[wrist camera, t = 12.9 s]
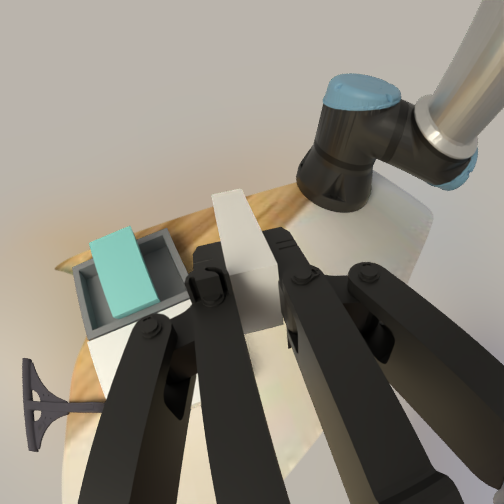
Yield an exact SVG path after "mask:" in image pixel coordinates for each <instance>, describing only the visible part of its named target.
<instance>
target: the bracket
mask: <svg viewBox="0 0 504 504" xmlns="http://www.w3.org/2000/svg"><path fill="white" fill-rule="evenodd" d="M22 365H23V366H22V370H23V371H22V372H23V373H22V376H23V377H22V378H23V403H24V416H25V426H26V434H27V441H28V448H29V451H34V452H39V450H38V449H40V447H41V442H42V438H43V436H44V433H45V431H46V430H47V428H48V427H49V426H50V424H51V423H52V422H53V421H55V420H56V419H58V418H60V417H62V416H65V415H68V414H69V412H77V413H102V411H103V408H104V405H105V403H101V402H86V403H68V402H67V401H65V400H63V399H60V398H58V397H56V396H55V395H53V394H52V393H51V392H49V391H48V390H47V388H46V387H45V386H44V385H43V383H42V382H41V380H40V378H39V376H38V374H37V372H36V370H35V367H34V364H33V363H32V360H31V359H28V358H23V363H22ZM32 390H34V391H36V392H37V393H38V395H39V397H40V400H41V401H40V402H38V401H33V394H32ZM35 410H38V411H41V417H40V418H39V420H38V421H35V420H34V411H35Z"/></svg>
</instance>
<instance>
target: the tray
mask: <svg viewBox="0 0 504 504" xmlns="http://www.w3.org/2000/svg"><path fill="white" fill-rule="evenodd" d="M137 242H138V245H139V248H140V251H141V253H142V256H143V259H144V261H145V264H146V267H147V269H148V272H149V274H150V277H151V279H152V282H153V284H154V287H155V289H156V292H157V294H158V297H159V299H160V301H161V302H159V303H157V304H155V305H152V306H150V307H147V308H145V309H143V310H140V311H138V312H136V313H133V314H131V315H128V316H126V317H124V318H121V319H116V318H114V317H113V316H112V313H111V310H110V308H109V305H108V302H107V299H106V297H105V294H104V291H103V288H102V285H101V282H100V279H99V276H98V273H97V269H96V266H95V263H94V259H93V258H92V259H90V260H88V261H85V262H83V263H81V264H79V265H76V266H74V267H72V269H73V275H74V281H75V286H76V291H77V296H78V301H79V305H80V310H81V314H82V319H83V323H84V327H85V330H86V334H87V338H88V340H89V341H91V340H94V339H96V338H99V337H101V336H104V335H106V334H108V333H111V332H113V331H116V330H118V329H121V328H123V327H125V326H128V325H130V324H133V323H135V322H137V321H139V320H140V319H141V318H143V317H145V316H147V315H149V314H155V313H159V312H161V311H163V310H166V309H168V308H170V307H173V306H175V305H177V304H180V303H182V302H184V301H187V300H189V299H190V297H189V295H188V292H187V289H186V287H185V284H184V283H185V279H186V277H187V276H188V273H187V270H186V268H185V266H184V264H183V262H182V260H181V258H180V256H179V254H178V251H177V249H176V247H175V245H174V243H173V240H172V238H171V236H170V234H169V232H168V229H167V228H165V229H163V230H160V231H158V232H155V233H152V234H150V235H147V236H145V237H142V238H140V239H137Z"/></svg>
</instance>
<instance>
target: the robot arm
mask: <svg viewBox="0 0 504 504" xmlns="http://www.w3.org/2000/svg"><path fill="white" fill-rule="evenodd" d="M503 108H504V0H482V2H481V4H480V7H479V8H478V11H477V13H476V15H475V17H474V19H473V21H472V23H471V25H470V27H469V29H468V31H467V33H466V35H465V37H464V39H463V41H462V43H461V45H460V47H459V49H458V51H457V53H456V54H455V57H454V58H453V60H452V62H451V64H450V65H449V67H448V69H447V71H446V73H445V75H444V76H443V78H442V80H441V82H440V83H439V85H438V87H437V88H436V90H435V92H434V94H433V95H425V96H423V97H421V98H420V99H419V100H418V101H417V103H416V104H415V105H413V104H411V103H409V102H406V101H404V100H402V99H401V93H400V90H399V89H398V88H397V87H395V86H394V85H392V84H389V83H388V82H386V81H384V80H382V79H379V78H375V77H372V76H368V75H362V74H341V75H337V76H335V77H334V78H332V79H331V81H330V82H329V85H328V88H327V92H326V95H325V96H324V98H323V107H322V112H321V117H320V120H319V124H318V129H317V132H316V137H315V141H314V145H313V146H312V147H311V149H310V150H309V151H308V153H307V154H306V156H305V157H304V159H303V160H302V161H301V163H300V165H299V167H298V171H297V176H296V180H297V185H298V187H299V189H300V190H301V192H302V193H303V194H304V195H305V196H306V197H307V198H308V199H309V200H310V201H312V202H313V203H315V204H317V205H318V206H320V207H323V208H325V209H328V210H331V211H336V212H353V211H356V210H359V209H360V208H362V207H363V206H364V205H365V204H366V202H367V200H368V198H369V196H370V193H371V183H372V169H373V165H374V162H375V160H376V159H378V160H381V161H383V162H386V163H388V164H390V165H392V166H395V167H397V168H399V169H401V170H403V171H405V172H407V173H409V174H411V175H413V176H415V177H417V178H419V179H421V180H423V181H425V182H427V183H428V184H429V185H431V186H434V187H438V188H440V189H442V190H447V191H450V190H454V189H456V188H458V187H460V186H461V185H462V184H463V183H465V181H466V180H467V179H468V178H469V173H470V172H472V171H473V169H474V167H475V164H476V161H477V155H478V148H477V145H478V138H477V136H478V135H479V134H480V132H481V131H482V130H483V129H484V128H485V127H486V126H487V125H488V124H489V123H490V122H491V121H492V120H493V119H494V118H495V116H496V115H497V114H498V113H499V112H500V111H501V110H502V109H503ZM211 196H212V201H213V206H214V211H215V216H216V221H217V226H218V231H219V235H220V240H221V241H220V242H216V243H211V244H207V245H203V246H198V247H197V248H196V250H195V252H194V253H193V269H194V270H193V271H192V272H190V273H189V275H188V276H187V277H186V279H185V283H184V284H185V287H186V289H187V292H188V295H189V297H190V300H191V303H192V305H191V306H190V307H189V308H188V309H187V310H186V311H184V312H183V313H181V314H179V315H177V316H175V317H173V318H171V319H169V317H167V316H166V315H164V314H159V313H155V314H149V315H147V316H145V317H143V318H141V319H140V320H139V321H138V322H137V323H136V324H135V326H134V327H133V329H132V331H131V334H130V336H129V339H128V341H127V344H126V346H125V349H124V352H123V354H122V357H121V359H120V362H119V365H118V368H117V370H116V373H115V376H114V379H113V381H112V384H111V387H110V390H109V393H108V396H107V399H106V402H105V405H104V408H103V411H102V414H101V417H100V420H99V424H98V427H97V430H96V434H95V437H94V440H93V444H92V447H91V451H90V455H89V458H88V462H87V466H86V470H85V474H84V478H83V482H82V486H81V491H80V495H79V500H78V504H176V503H177V495H178V488H179V481H180V474H181V467H182V460H183V454H184V447H185V441H186V435H187V429H188V423H189V417H190V411H191V405H192V399H193V393H194V388H195V382H196V374H197V373H198V382H199V391H200V399H201V408H202V415H203V423H204V430H205V437H206V444H207V450H208V457H209V463H210V469H211V475H212V480H213V486H214V491H215V497H216V502H217V504H290V501H289V498H288V494H287V491H286V488H285V484H284V481H283V478H282V474H281V471H280V467H279V464H278V460H277V457H276V453H275V450H274V446H273V443H272V439H271V436H270V432H269V428H268V425H267V421H266V417H265V414H264V410H263V406H262V403H261V399H260V395H259V391H258V387H257V384H256V380H255V376H254V372H253V368H252V364H251V360H250V356H249V352H248V349H247V345H246V341H245V337H244V334H247V333H251V332H256V331H260V330H264V329H268V328H272V327H276V326H279V325H283V318H284V321H285V323H286V327H287V339H288V349H289V348H291V347H292V349H293V352H294V355H295V357H296V360H297V362H298V365H299V368H300V370H301V373H302V376H303V378H304V381H305V384H306V386H307V389H308V392H309V394H310V397H311V399H312V402H313V405H314V407H315V410H316V413H317V415H318V418H319V421H320V423H321V426H322V429H323V431H324V434H325V436H326V439H327V442H328V445H329V447H330V450H331V452H332V455H333V458H334V461H335V463H336V466H337V469H338V471H339V474H340V477H341V479H342V482H343V485H344V487H345V490H346V493H347V495H348V498H349V501H350V504H464V502H463V500H462V498H461V495H460V493H459V491H458V489H457V487H456V486H455V484H454V482H453V481H452V480H451V479H450V478H449V477H448V476H447V475H445V474H443V473H440V472H438V471H436V470H435V469H434V467H433V466H432V465H431V463H430V460H429V458H428V456H427V454H426V452H425V450H424V448H423V446H422V445H421V442H420V440H419V438H418V436H417V434H416V432H415V430H414V429H413V427H412V425H411V423H410V421H409V419H408V417H407V415H406V413H405V411H404V410H403V408H402V406H401V404H400V403H399V400H398V399H397V397H396V395H395V393H394V391H393V389H392V387H391V386H390V384H391V385H392V386H393V388H394V389H395V390H396V391H397V392H398V393H399V394H400V395H401V396H402V397H403V398H404V399H405V400H406V401H407V403H409V405H410V406H411V407H412V408H413V409H414V410H415V411H416V412H417V413H418V414H419V415H420V416H421V418H423V420H424V421H425V422H426V423H427V424H428V425H429V426H430V427H431V428H432V429H433V430H434V431H435V433H437V434H438V436H439V437H440V438H441V439H442V440H443V441H444V442H445V443H446V444H447V445H448V447H449V448H450V449H451V450H452V451H453V452H454V453H455V454H456V455H457V456H458V457H459V459H461V460H462V462H463V463H464V464H465V465H466V466H467V467H468V468H469V469H470V471H471V472H472V473H474V474H475V475H476V476H477V477H478V478H479V479H480V480H481V481H483V482H484V483H486V484H488V485H489V486H491V487H493V488H495V489H497V490H498V491H497V492H496V493H495V495H494V498H493V503H494V504H504V365H503V364H502V363H500V362H499V361H498V360H497V359H496V358H495V357H494V356H493V355H491V354H490V353H489V352H488V351H487V350H486V349H485V348H484V347H483V346H481V345H480V344H479V343H478V342H477V341H476V340H474V339H473V338H472V337H471V336H470V335H469V334H467V333H466V332H465V331H464V330H463V329H462V328H460V327H459V326H458V325H457V324H455V323H454V322H453V321H452V320H451V319H449V318H448V317H447V316H446V315H445V314H443V313H442V312H441V311H440V310H438V309H437V308H436V307H434V306H433V305H432V304H431V303H430V302H428V301H427V300H426V299H424V298H423V297H422V296H421V295H419V294H418V293H417V292H415V291H414V290H413V289H412V288H410V287H409V286H408V285H406V284H405V283H404V282H402V281H401V280H400V279H398V278H397V277H396V276H394V275H393V274H392V273H390V272H389V271H388V270H386V269H385V268H384V267H382V266H380V265H378V264H375V263H371V262H362V263H358V264H355V265H354V266H353V267H351V268H350V271H349V273H348V276H328V275H324V274H323V272H322V271H321V270H320V269H319V268H317V267H315V266H312V265H310V264H309V262H308V261H307V259H306V257H305V256H304V254H303V253H302V251H301V249H300V248H299V246H297V243H296V242H295V240H294V238H293V237H292V235H291V234H290V232H289V231H287V230H285V229H283V228H282V227H279V228H274V229H269V230H265V231H261V229H260V226H259V224H258V222H257V220H256V218H255V216H254V214H253V212H252V210H251V208H250V206H249V204H248V202H247V199H246V197H245V195H244V193H243V191H242V189H236V190H231V191H227V192H222V193H218V194H213V195H211ZM389 383H390V384H389Z"/></svg>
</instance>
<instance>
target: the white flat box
mask: <svg viewBox="0 0 504 504" xmlns="http://www.w3.org/2000/svg"><path fill="white" fill-rule="evenodd" d="M191 305H192V303H191V300H190V299H189V300H187V301H184V302H182V303H180V304H177V305H175V306H173V307H170V308H168V309H166V310H163V311H161V312H159V314H164V315H166V316H167V317H169V319H171V318H173V317H175V316H177V315H179V314H181V313H183V312H184V311H186V310H187V309H188V308H189V307H190V306H191ZM137 322H138V321H137ZM137 322H135V323H133V324H130V325H128V326H125V327H123V328H121V329H118V330H116V331H113V332H111V333H108V334H106V335H104V336H101V337H99V338H96V339H94V340H91V341H89V342H87V343H88V346H89V350H90V353H91V357H92V360H93V363H94V366H95V369H96V372H97V375H98V378H99V381H100V384H101V387H102V390H103V392H104V395H105V398H106V399H107V396H108V393H109V390H110V387H111V384H112V381H113V379H114V376H115V373H116V370H117V368H118V365H119V362H120V359H121V357H122V354H123V352H124V349H125V346H126V344H127V341H128V339H129V336H130V334H131V331H132V329H133V327H134V326H135V324H136V323H137ZM200 405H201V399H200V391H199V382H198V373H197V374H196V382H195V388H194V393H193V399H192V405H191V409H193V408H195V407H197V406H200Z"/></svg>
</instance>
